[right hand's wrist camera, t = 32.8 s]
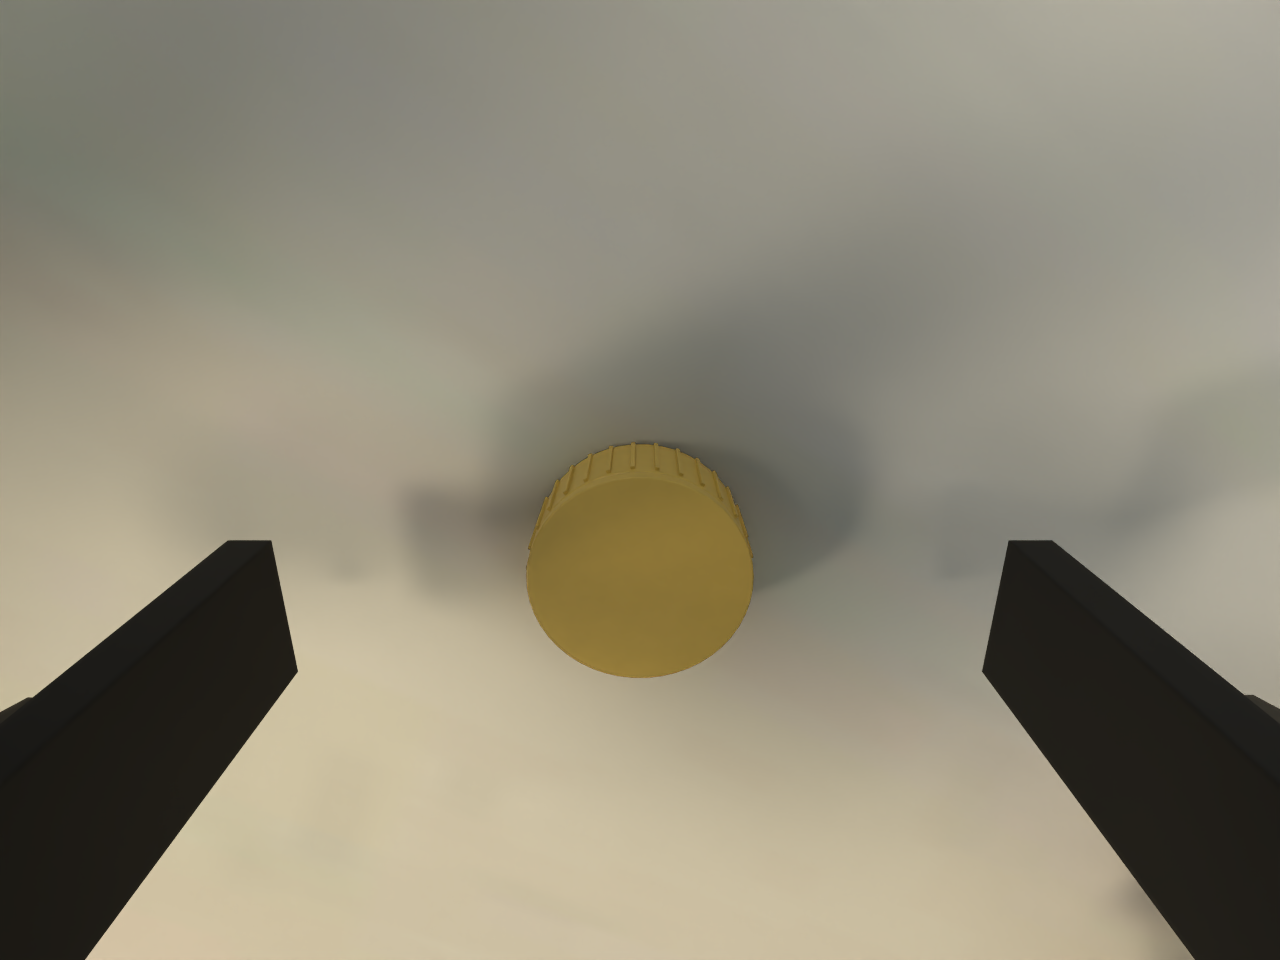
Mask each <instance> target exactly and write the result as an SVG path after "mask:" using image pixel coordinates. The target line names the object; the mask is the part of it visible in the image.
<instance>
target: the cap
mask: <svg viewBox="0 0 1280 960" xmlns="http://www.w3.org/2000/svg"><path fill="white" fill-rule="evenodd" d="M747 537H748V534H747V531H746V528H745V525H744V522H743V519H742V516H741V513H740V510H739V507H738V504H737V505H735V504H734V501H733V498H732V495H731V491H730V489H729V487H728V486H727V487H725V486H724V485H723V483H722V482H721V481H720V480H719V478H718V476H717V473H716V472H715V471H713V472H712V471H711V470H710V469H708V468H707V467H706V466H704V465H703V464H702V463H700V459H698V458H697V457H696V459H694V458H692V457H690V456H688V455H686V454H684V453H681V452H680V449H677V448H676V450H674V449H670V448H667V447H662V446H658V444H657V443H654V445H648V444H635V442H632V443H631V445H624V446H618V447H614V448H613V446H609V449H606V450H604V451H601V452H599V453H596V454H594V455H592V453H591V454H589V455H588V458H586V459H584V460H583V461H581V462H580V463H578V464H577V465H576V466H574V465H572V466H570V469H569V471H568V472H567V473H566V474H565V475H564V476H563V477H562V478H561V480H560V481H559V480H556V482H555V484H554V488H553V491H552V492H551V494H550V496H549V498H548V497H545V499H544V502H543V505H542V508H541V511H540V514H539V517H538V520H537V523H536V526H535V529H534V532H533V535H532V538H531V541H530V544H529V547H528V549H530V554H529V558H528V562H527V566H526V570H527V573H526V579H527V591H528V596H529V600H530V604H531V606H532V609H533V612H534V614H535V616H536V618H537V620H538V622H539V624H540V626H541V627H542V628H543V630H544V631H545V633H546V634H547V635H548V637H549V638H550V639H551V640H552V641H553V642H554V643H555V644H556V645H557V646H558V647H559V648H560V649H561V650H562V651H564V652H565V653H566V654H567V655H569V656H570V657H572V658H573V659H575V660H577V661H578V662H580V663H582V664H584V665H586V666H588V667H590V668H592V669H595V670H598V671H601V672H604V673H607V674H612V675H616V676H622V677H631V678H649V677H658V676H664V675H669V674H673V673H676V672H679V671H682V670H685V669H688V668H690V667H692V666H694V665H696V664H698V663H700V662H702V661H703V660H705V659H707V658H708V657H710V656H711V655H713V654H714V653H715V652H716V651H718V650H719V649H720V648H721V647H722V646H723V645H724V644H725V643H726V642H727V641H728V640H729V639H730V638H731V637H732V635H733V634H734V633H735V631H736V630H737V628H738V627H739V625H740V624H741V622H742V620H743V618H744V616H745V614H746V612H747V609H748V606H749V604H750V600H751V595H752V591H753V579H754V574H753V563H752V559H751V558H753V553H752V550H751V547H750V544H749V541H748V538H747Z"/></svg>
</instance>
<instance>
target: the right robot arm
mask: <svg viewBox="0 0 1280 960" xmlns="http://www.w3.org/2000/svg"><path fill="white" fill-rule="evenodd" d="M297 672H298V670H297V665H296V660H295V655H294V650H293V645H292V640H291V635H290V630H289V625H288V620H287V616H286V611H285V606H284V601H283V596H282V591H281V586H280V581H279V576H278V571H277V566H276V561H275V556H274V552H273V547H272V542H271V540H228V541H227V542H225V543H224V544H223V545H222V546H220V547H219V548H218V549H217V550H215V551H214V552H213V553H212V554H210V555H209V556H208V557H207V558H205V559H204V560H203V561H202V562H200V563H199V564H198V565H197V566H196V567H194V568H193V569H192V570H191V571H189V572H188V573H187V574H186V575H184V576H183V577H182V578H181V579H179V580H178V581H177V582H176V583H174V584H173V585H172V586H171V587H169V588H168V589H167V590H166V591H164V592H163V593H162V594H161V595H160V596H158V597H157V598H156V599H155V600H153V601H152V602H151V603H150V604H148V605H147V606H146V607H145V608H143V609H142V610H141V611H140V612H138V613H137V614H136V615H135V616H133V617H132V618H131V619H130V620H128V621H127V622H126V623H125V624H123V625H122V626H121V627H120V628H119V629H117V630H116V631H115V632H114V633H112V634H111V635H110V636H109V637H107V638H106V639H105V640H104V641H102V642H101V643H100V644H99V645H97V646H96V647H95V648H94V649H92V650H91V651H90V652H89V653H87V654H86V655H85V656H84V657H82V658H81V659H80V660H79V661H78V662H76V663H75V664H74V665H73V666H71V667H70V668H69V669H68V670H66V671H65V672H64V673H63V674H61V675H60V676H59V677H58V678H56V679H55V680H54V681H53V682H51V683H50V684H49V685H48V686H46V687H45V688H44V689H43V690H41V691H40V692H39V693H38V694H37V695H35V696H34V697H33V698H26V699H24V700H22V701H20V702H18V703H17V704H15V705H13V706H11V707H9V708H7V709H5V710H3V711H2V712H0V960H85V959H86V958H87V956H88V955H89V954H90V952H91V951H92V949H93V948H94V947H95V945H96V944H97V943H98V941H99V940H100V939H101V937H102V936H103V935H104V933H105V932H106V931H107V929H108V928H109V926H110V925H111V924H112V922H113V921H114V920H115V918H116V917H117V916H118V914H119V913H120V912H121V910H122V909H123V908H124V906H125V905H126V903H127V902H128V901H129V899H130V898H131V897H132V895H133V894H134V893H135V891H136V890H137V889H138V887H139V886H140V885H141V883H142V882H143V880H144V879H145V878H146V876H147V875H148V874H149V872H150V871H151V870H152V868H153V867H154V866H155V864H156V863H157V862H158V860H159V859H160V857H161V856H162V855H163V853H164V852H165V851H166V849H167V848H168V847H169V845H170V844H171V843H172V841H173V840H174V839H175V837H176V836H177V834H178V833H179V832H180V830H181V829H182V828H183V826H184V825H185V824H186V822H187V821H188V820H189V818H190V817H191V816H192V814H193V813H194V811H195V810H196V809H197V807H198V806H199V805H200V803H201V802H202V801H203V799H204V798H205V797H206V795H207V794H208V793H209V791H210V790H211V788H212V787H213V786H214V784H215V783H216V782H217V780H218V779H219V778H220V776H221V775H222V774H223V772H224V771H225V770H226V768H227V767H228V765H229V764H230V763H231V761H232V760H233V759H234V757H235V756H236V755H237V753H238V752H239V751H240V749H241V748H242V747H243V745H244V744H245V742H246V741H247V740H248V738H249V737H250V736H251V734H252V733H253V732H254V730H255V729H256V728H257V726H258V725H259V724H260V722H261V721H262V719H263V718H264V717H265V715H266V714H267V713H268V711H269V710H270V709H271V707H272V706H273V705H274V703H275V702H276V701H277V699H278V698H279V696H280V695H281V694H282V692H283V691H284V690H285V688H286V687H287V686H288V684H289V683H290V682H291V680H292V679H293V678H294V676H295V675H296V673H297ZM982 672H983V673H984V675H985V676H986V677H987V679H988V680H989V682H990V683H991V684H992V686H993V687H994V688H995V690H996V691H997V692H998V694H999V695H1000V696H1001V698H1002V699H1003V700H1004V702H1005V703H1006V705H1007V706H1008V707H1009V709H1010V710H1011V711H1012V713H1013V714H1014V715H1015V717H1016V718H1017V719H1018V721H1019V722H1020V723H1021V725H1022V726H1023V728H1024V729H1025V730H1026V732H1027V733H1028V734H1029V736H1030V737H1031V738H1032V740H1033V741H1034V742H1035V744H1036V745H1037V746H1038V748H1039V749H1040V751H1041V752H1042V753H1043V755H1044V756H1045V757H1046V759H1047V760H1048V761H1049V763H1050V764H1051V765H1052V767H1053V768H1054V769H1055V771H1056V772H1057V774H1058V775H1059V776H1060V778H1061V779H1062V780H1063V782H1064V783H1065V784H1066V786H1067V787H1068V788H1069V790H1070V791H1071V792H1072V794H1073V795H1074V797H1075V798H1076V799H1077V801H1078V802H1079V803H1080V805H1081V806H1082V807H1083V809H1084V810H1085V811H1086V813H1087V814H1088V816H1089V817H1090V818H1091V820H1092V821H1093V822H1094V824H1095V825H1096V826H1097V828H1098V829H1099V830H1100V832H1101V833H1102V834H1103V836H1104V837H1105V839H1106V840H1107V841H1108V843H1109V844H1110V845H1111V847H1112V848H1113V849H1114V851H1115V852H1116V853H1117V855H1118V856H1119V857H1120V859H1121V860H1122V862H1123V863H1124V864H1125V866H1126V867H1127V868H1128V870H1129V871H1130V872H1131V874H1132V875H1133V876H1134V878H1135V879H1136V880H1137V882H1138V883H1139V885H1140V886H1141V887H1142V889H1143V890H1144V891H1145V893H1146V894H1147V895H1148V897H1149V898H1150V899H1151V901H1152V902H1153V903H1154V905H1155V906H1156V908H1157V909H1158V910H1159V912H1160V913H1161V914H1162V916H1163V917H1164V918H1165V920H1166V921H1167V922H1168V924H1169V925H1170V926H1171V928H1172V929H1173V931H1174V932H1175V933H1176V935H1177V936H1178V937H1179V939H1180V940H1181V941H1182V943H1183V944H1184V945H1185V947H1186V948H1187V949H1188V951H1189V952H1190V954H1191V955H1192V956H1193V958H1194V959H1195V960H1280V709H1279V708H1277V707H1275V706H1273V705H1271V704H1269V703H1267V702H1265V701H1264V700H1262V699H1260V698H1258V697H1256V696H1254V695H1243V694H1242V693H1241V692H1240V691H1239V690H1237V689H1236V688H1235V687H1234V686H1232V685H1231V684H1230V683H1229V682H1227V681H1226V680H1225V679H1224V678H1222V677H1221V676H1220V675H1219V674H1217V673H1216V672H1215V671H1214V670H1212V669H1211V668H1210V667H1209V666H1207V665H1206V664H1205V663H1204V662H1202V661H1201V660H1200V659H1199V658H1198V657H1196V656H1195V655H1194V654H1193V653H1191V652H1190V651H1189V650H1188V649H1186V648H1185V647H1184V646H1183V645H1181V644H1180V643H1179V642H1178V641H1176V640H1175V639H1174V638H1173V637H1171V636H1170V635H1169V634H1168V633H1166V632H1165V631H1164V630H1163V629H1161V628H1160V627H1159V626H1158V625H1157V624H1155V623H1154V622H1153V621H1152V620H1150V619H1149V618H1148V617H1147V616H1145V615H1144V614H1143V613H1142V612H1140V611H1139V610H1138V609H1137V608H1135V607H1134V606H1133V605H1132V604H1130V603H1129V602H1128V601H1127V600H1125V599H1124V598H1123V597H1122V596H1121V595H1119V594H1118V593H1117V592H1116V591H1114V590H1113V589H1112V588H1111V587H1109V586H1108V585H1107V584H1106V583H1104V582H1103V581H1102V580H1101V579H1099V578H1098V577H1097V576H1096V575H1094V574H1093V573H1092V572H1091V571H1089V570H1088V569H1087V568H1086V567H1084V566H1083V565H1082V564H1081V563H1080V562H1078V561H1077V560H1076V559H1075V558H1073V557H1072V556H1071V555H1070V554H1068V553H1067V552H1066V551H1065V550H1063V549H1062V548H1061V547H1060V546H1058V545H1057V544H1056V543H1055V542H1053V541H1052V540H1009V542H1008V547H1007V552H1006V557H1005V561H1004V566H1003V571H1002V576H1001V581H1000V586H999V591H998V596H997V601H996V606H995V611H994V616H993V620H992V625H991V630H990V635H989V640H988V645H987V650H986V655H985V660H984V665H983V670H982Z"/></svg>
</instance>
